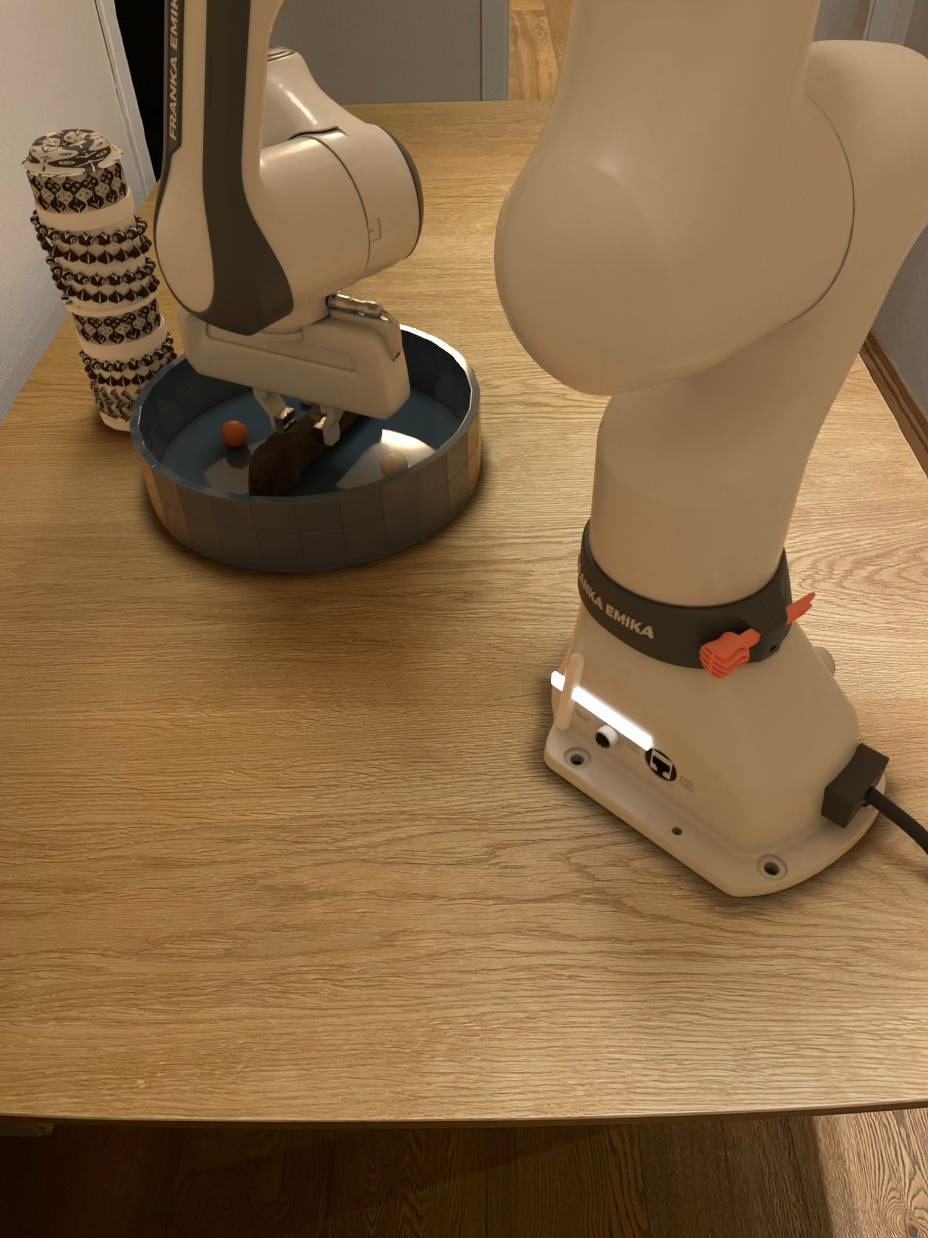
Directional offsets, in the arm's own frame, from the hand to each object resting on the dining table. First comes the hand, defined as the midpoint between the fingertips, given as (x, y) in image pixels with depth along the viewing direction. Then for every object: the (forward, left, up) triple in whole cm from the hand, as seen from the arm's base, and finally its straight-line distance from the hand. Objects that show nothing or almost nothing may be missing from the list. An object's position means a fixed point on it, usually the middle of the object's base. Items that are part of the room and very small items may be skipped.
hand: (306, 434), depth 85 cm
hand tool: (0, -1, -3) cm, 3 cm away
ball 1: (+6, +4, -1) cm, 8 cm away
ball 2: (+8, -5, -1) cm, 10 cm away
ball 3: (-7, -5, -1) cm, 8 cm away
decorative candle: (+19, +8, -4) cm, 21 cm away
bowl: (0, -1, -4) cm, 4 cm away
